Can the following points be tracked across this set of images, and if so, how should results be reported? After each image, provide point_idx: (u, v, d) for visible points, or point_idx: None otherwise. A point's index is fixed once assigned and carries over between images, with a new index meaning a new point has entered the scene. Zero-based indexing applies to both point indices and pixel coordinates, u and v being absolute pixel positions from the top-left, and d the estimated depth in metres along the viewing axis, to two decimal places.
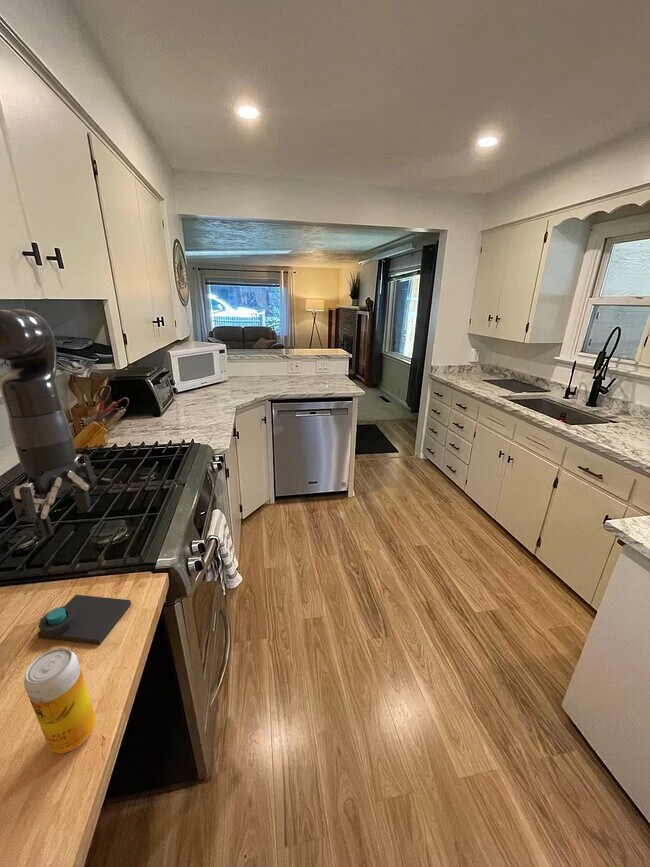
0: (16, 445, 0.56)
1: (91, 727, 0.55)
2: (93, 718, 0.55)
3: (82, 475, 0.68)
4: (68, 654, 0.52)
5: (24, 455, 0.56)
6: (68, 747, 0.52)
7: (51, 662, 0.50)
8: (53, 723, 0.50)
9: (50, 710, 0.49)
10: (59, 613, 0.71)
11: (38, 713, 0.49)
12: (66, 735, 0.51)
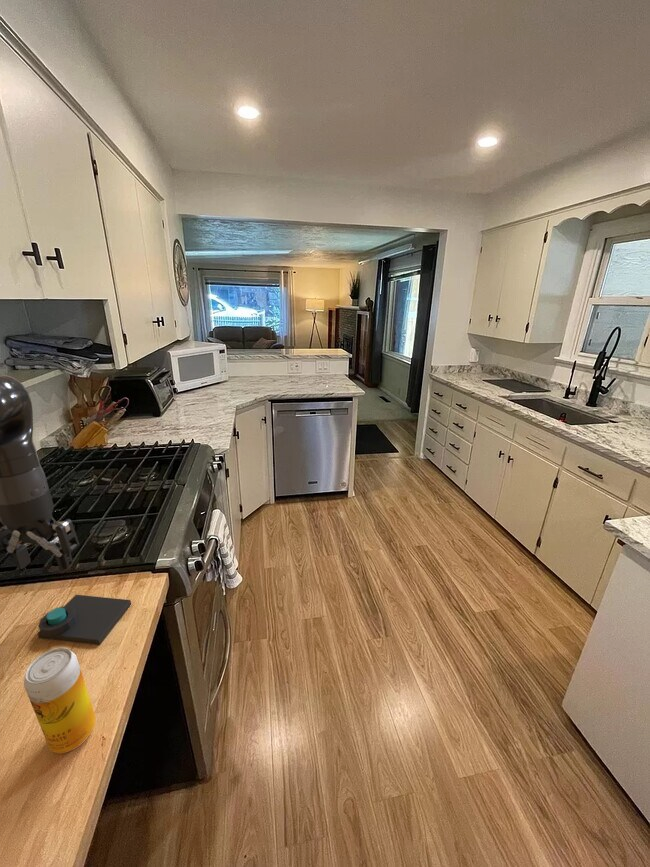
0: None
1: (91, 727, 0.55)
2: (93, 718, 0.55)
3: (73, 541, 0.66)
4: (68, 654, 0.52)
5: None
6: (68, 747, 0.52)
7: (51, 662, 0.50)
8: (53, 723, 0.50)
9: (50, 711, 0.49)
10: (59, 613, 0.71)
11: (38, 713, 0.49)
12: (66, 735, 0.51)
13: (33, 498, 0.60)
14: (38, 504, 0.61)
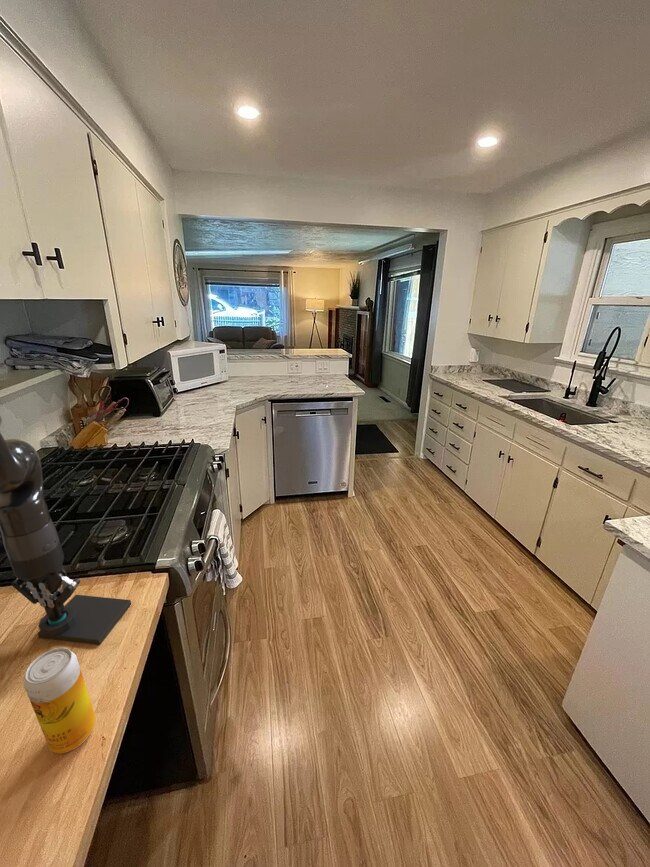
0: None
1: (91, 727, 0.55)
2: (93, 718, 0.55)
3: None
4: (68, 654, 0.52)
5: None
6: (68, 747, 0.52)
7: (51, 662, 0.50)
8: (53, 723, 0.50)
9: (50, 711, 0.49)
10: None
11: (38, 713, 0.49)
12: (66, 735, 0.51)
13: (45, 553, 0.64)
14: (49, 558, 0.65)
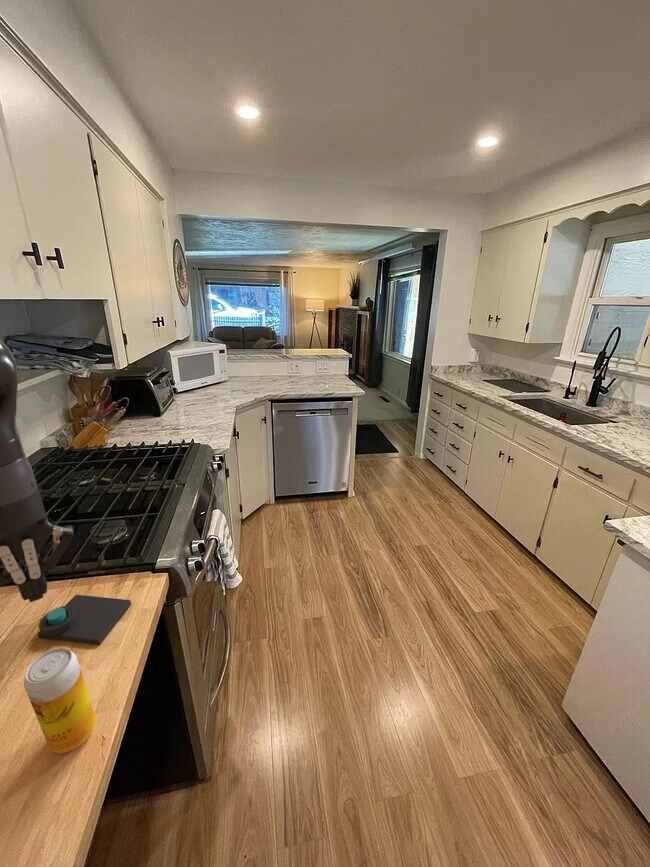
0: None
1: (91, 727, 0.55)
2: (93, 718, 0.55)
3: None
4: (68, 654, 0.52)
5: None
6: (68, 747, 0.52)
7: (51, 662, 0.50)
8: (53, 723, 0.50)
9: (50, 711, 0.49)
10: (59, 613, 0.71)
11: (38, 713, 0.49)
12: (66, 735, 0.51)
13: (34, 490, 0.47)
14: (38, 498, 0.48)
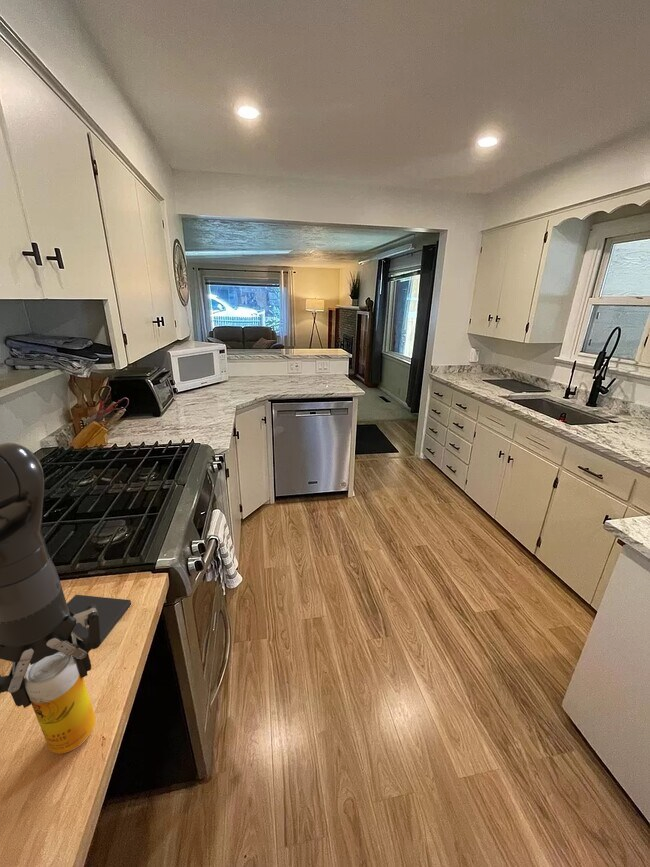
0: None
1: (91, 727, 0.55)
2: (93, 718, 0.55)
3: None
4: None
5: None
6: (68, 747, 0.52)
7: (51, 662, 0.50)
8: (53, 723, 0.50)
9: (50, 711, 0.49)
10: None
11: (38, 713, 0.49)
12: (66, 735, 0.51)
13: (59, 591, 0.47)
14: (62, 597, 0.48)
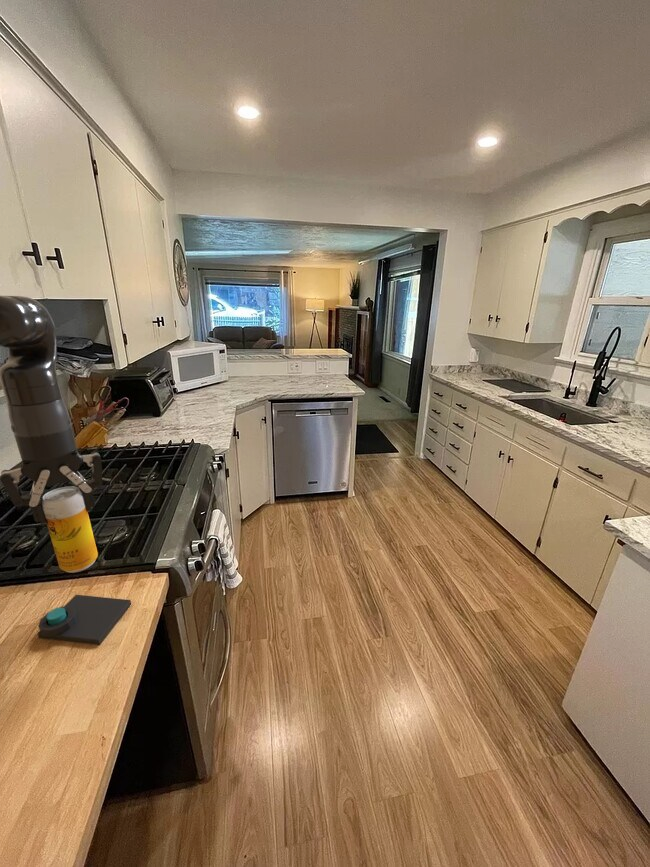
0: None
1: (94, 557, 0.67)
2: (96, 551, 0.67)
3: None
4: (76, 490, 0.64)
5: (16, 441, 0.56)
6: (75, 566, 0.64)
7: (62, 493, 0.63)
8: (64, 540, 0.62)
9: (62, 528, 0.61)
10: (59, 613, 0.71)
11: (52, 530, 0.61)
12: (74, 554, 0.63)
13: (70, 426, 0.59)
14: (72, 433, 0.60)
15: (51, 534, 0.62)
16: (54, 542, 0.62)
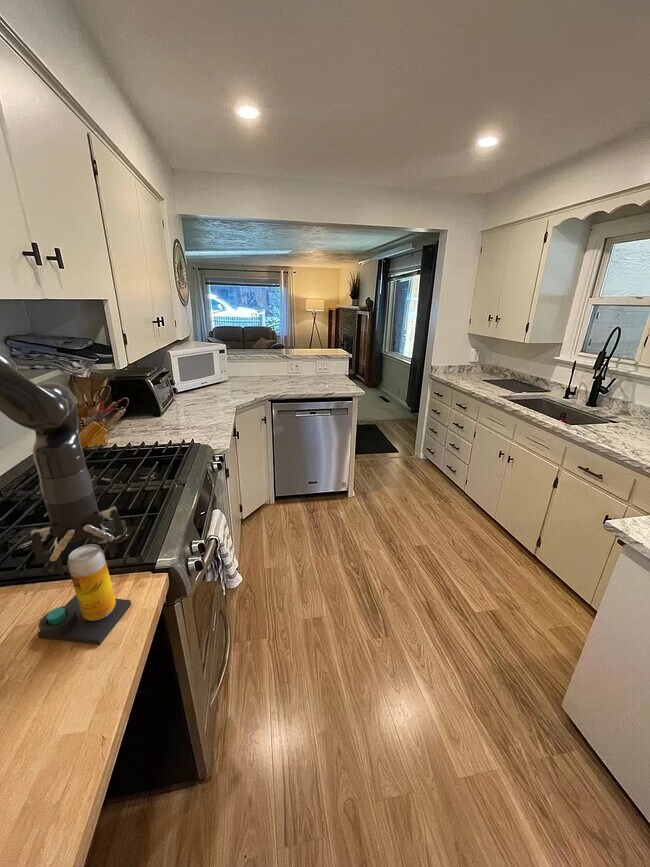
0: None
1: (113, 605, 0.75)
2: (114, 600, 0.76)
3: None
4: (97, 548, 0.72)
5: (46, 506, 0.64)
6: (97, 615, 0.72)
7: (85, 552, 0.71)
8: (87, 594, 0.70)
9: (85, 584, 0.69)
10: (59, 613, 0.71)
11: (77, 586, 0.69)
12: (96, 606, 0.72)
13: (92, 490, 0.67)
14: (94, 496, 0.68)
15: (76, 589, 0.70)
16: (78, 595, 0.70)
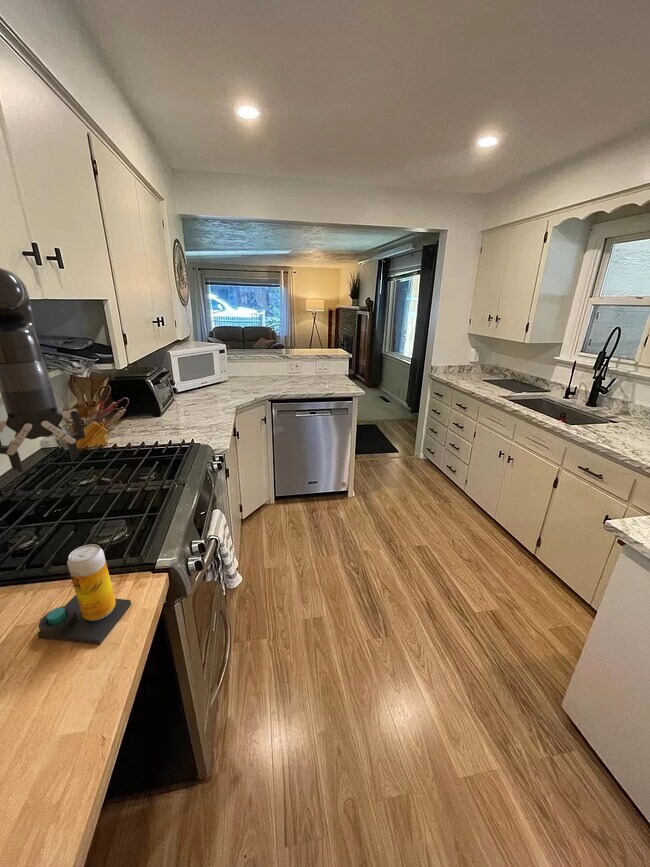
0: None
1: (113, 605, 0.75)
2: (114, 600, 0.76)
3: None
4: (97, 548, 0.72)
5: (2, 397, 0.64)
6: (97, 615, 0.72)
7: (85, 551, 0.71)
8: (87, 594, 0.70)
9: (85, 584, 0.69)
10: (59, 613, 0.71)
11: (77, 586, 0.69)
12: (96, 606, 0.72)
13: (49, 385, 0.67)
14: (52, 392, 0.68)
15: (76, 589, 0.70)
16: (78, 595, 0.70)
